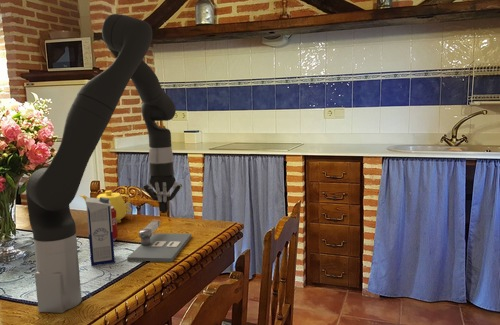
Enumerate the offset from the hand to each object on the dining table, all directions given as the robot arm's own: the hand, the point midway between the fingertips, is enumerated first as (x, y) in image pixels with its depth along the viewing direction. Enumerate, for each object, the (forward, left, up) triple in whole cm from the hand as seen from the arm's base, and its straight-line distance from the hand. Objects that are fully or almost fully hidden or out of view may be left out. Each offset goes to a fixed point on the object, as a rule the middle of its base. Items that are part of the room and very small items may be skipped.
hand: (164, 212), depth 138 cm
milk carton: (-12, +16, -12) cm, 24 cm away
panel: (0, +1, -12) cm, 12 cm away
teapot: (+31, +35, -12) cm, 48 cm away
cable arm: (+5, +7, -8) cm, 12 cm away
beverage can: (+7, +23, -12) cm, 27 cm away
